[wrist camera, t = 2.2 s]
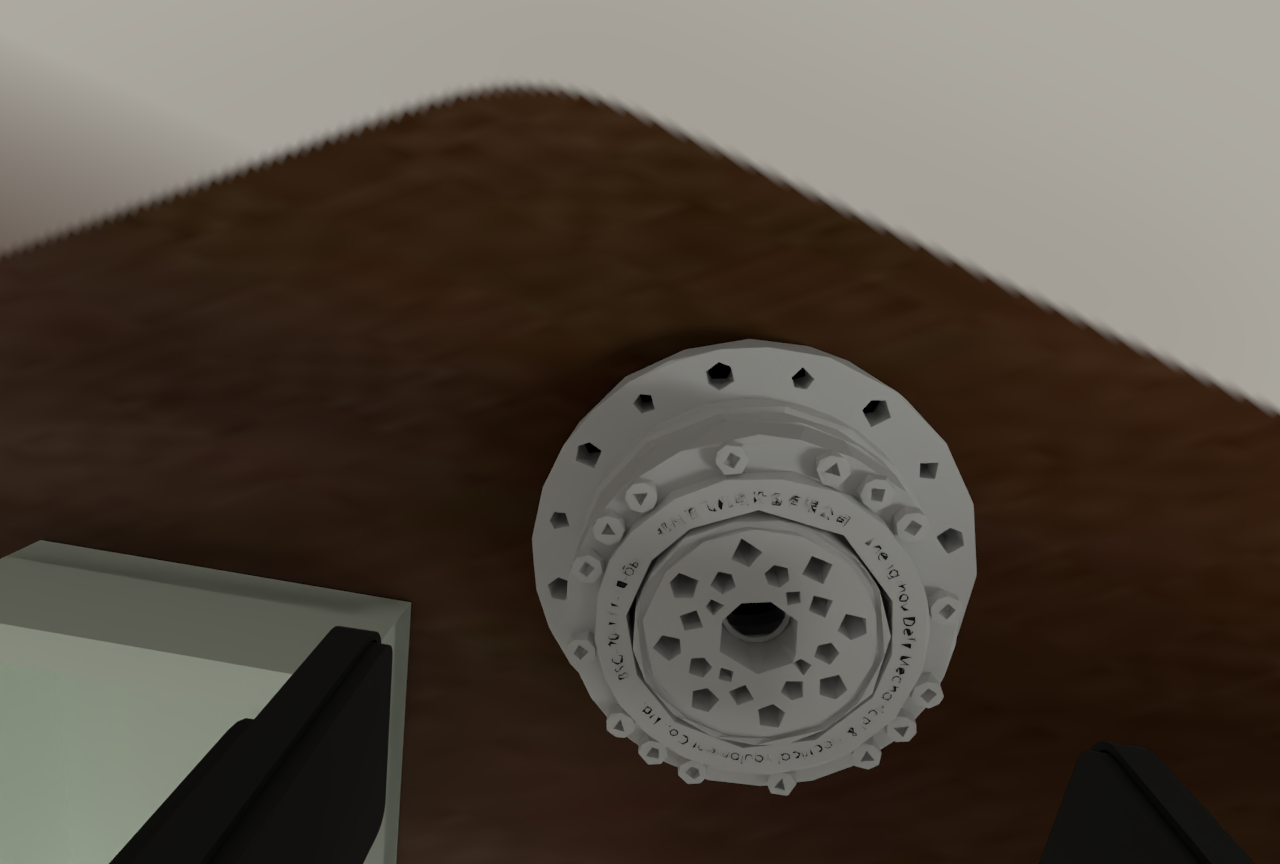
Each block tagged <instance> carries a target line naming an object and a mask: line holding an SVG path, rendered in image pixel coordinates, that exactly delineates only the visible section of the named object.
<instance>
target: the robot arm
mask: <svg viewBox="0 0 1280 864" xmlns="http://www.w3.org/2000/svg"><path fill="white" fill-rule="evenodd" d="M392 661H393V650H392V646H391V645H388V644H381V637H380V634H379V633H378V632H376V631H370V630H363V629H356V628H350V627H343V626H335V627H334V628H332V629H331V630H330V631H329V632H328V634H327V635H326V636H325V637H324V638H323V639H322V641H321V642H320V643H319V644H318V645H317V646H316V648H315V649H314V650H313V651H312V652H311V653H310V655H309V656H308V657H307V658H306V659H305V660H304V662H303V663H302V664H301V665H300V666H299V667H298V669H297V670H296V671H295V672H294V673H293V674H292V676H291V677H290V678H289V679H288V680H287V681H286V683H285V684H284V685H283V686H282V687H281V688H280V690H279V691H278V692H277V693H276V694H275V695H274V697H273V698H272V699H271V700H270V701H269V702H268V704H267V705H266V706H265V707H264V708H263V709H262V711H261V712H260V713H259V714H258V715H257V716H256V718H255V719H249V718H245V719H242V720H240V721H237V722H236V723H235V724H234V725H233V726H232V727H231V728H230V729H228V730H227V732H226V733H225V734H224V735H223V736H222V737H221V738H220V739H219V741H218V742H217V743H216V744H215V745H214V746H213V747H212V748H211V750H210V751H209V752H208V753H207V754H206V755H205V756H204V757H203V758H202V760H201V761H200V762H199V763H198V764H197V765H196V766H195V767H194V769H193V770H192V771H191V772H190V773H189V774H188V775H187V776H186V778H185V779H184V780H183V781H182V782H181V783H180V784H179V785H178V787H177V788H176V789H175V790H174V791H173V792H172V793H171V794H170V796H169V797H168V798H167V799H166V800H165V801H164V802H163V803H162V805H161V806H160V807H159V808H158V809H157V810H156V811H155V812H154V813H153V815H152V816H151V817H150V818H149V819H148V820H147V821H146V822H145V824H144V825H143V826H142V827H141V828H140V829H139V830H138V831H137V833H136V834H135V835H134V836H133V837H132V838H131V839H130V840H129V842H128V843H127V844H126V845H125V846H124V847H123V848H122V849H121V851H120V852H119V853H118V854H117V855H116V856H115V857H114V858H113V860H112V861H111V862H110V863H109V864H363V863H364V861H365V859H366V857H367V855H368V853H369V851H370V849H371V847H372V845H373V843H374V841H375V839H376V837H377V834H378V832H379V829H380V827H381V824H382V820H383V816H384V811H385V804H386V784H387V764H388V743H389V723H390V702H391V681H392ZM1039 864H1255V863H1254V862H1253V861H1252V860H1251V859H1250V858H1249V857H1248V856H1247V855H1246V853H1245V852H1244V851H1243V850H1242V849H1241V848H1240V847H1239V846H1238V845H1237V843H1236V842H1235V841H1234V840H1233V839H1232V838H1231V837H1230V836H1229V835H1228V834H1227V832H1226V831H1225V830H1224V829H1223V828H1222V827H1221V826H1220V825H1219V824H1218V822H1217V821H1216V820H1215V819H1214V818H1213V817H1212V816H1211V815H1210V814H1209V812H1208V811H1207V810H1206V809H1205V808H1204V807H1203V806H1202V805H1201V804H1200V802H1199V801H1198V800H1197V799H1196V798H1195V797H1194V796H1193V795H1192V794H1191V792H1190V791H1189V790H1188V789H1187V788H1186V787H1185V786H1184V785H1183V784H1182V783H1181V781H1180V780H1179V779H1178V778H1177V777H1176V776H1175V775H1174V774H1173V773H1172V771H1171V770H1170V769H1169V768H1168V767H1167V766H1166V765H1165V764H1164V763H1163V761H1162V760H1161V759H1160V758H1159V757H1158V756H1157V755H1156V754H1155V753H1154V752H1152V751H1151V750H1150V749H1147V748H1144V747H1138V746H1131V745H1125V744H1118V743H1111V742H1105V741H1103V742H1097V743H1096V744H1095V745H1094V746H1092V748H1091V750H1090V751H1084V752H1083V753H1082V754H1080V756H1079V758H1078V760H1077V763H1076V766H1075V768H1074V771H1073V774H1072V776H1071V779H1070V782H1069V784H1068V787H1067V790H1066V793H1065V795H1064V798H1063V801H1062V803H1061V806H1060V809H1059V811H1058V814H1057V817H1056V819H1055V822H1054V825H1053V828H1052V830H1051V833H1050V836H1049V838H1048V841H1047V844H1046V846H1045V849H1044V852H1043V854H1042V857H1041V860H1040V863H1039Z"/></svg>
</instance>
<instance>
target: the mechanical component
mask: <svg viewBox="0 0 1280 864" xmlns="http://www.w3.org/2000/svg"><path fill="white" fill-rule="evenodd" d="M718 362H720V363H722V364H725V365H728V366H730V367H731V372H730V373H729V375H728V377H727V379H712V378H711V376H710V374H709V372H708V370H709V369H710V368H712V367H713V366H714V365H715V364H717V363H718ZM801 368H804V369H805V376H803V377H800V378H797V379H794V380H792V377H793V376H794V375H795V374H796V373H797V372H798V371H799V370H800V369H801ZM640 394H644V395H651V397H652V401H642V399H641V397H640ZM871 400H880V402H879V404H878V405H877V407H876V408H875V410H874V412H870V413H865V414H864V413H863V411H862V410H863V409H864V408H865V407H866V406H867V404H868V403H869V402H870V401H871ZM589 442H590V443H591V444H593V445H594V446H596V447H597V448H598V449H600V450H601V452H594V453H589V452H588V450H587V449H586V447H585V445H584V444H586V443H589ZM532 547H533V560H534V570H535V580H536V590H537V593H538V596H539V599H540V602H541V605H542V608H543V611H544V614H545V617H546V620H547V623H548V626H549V628H550V630H551V632H552V634H553V635H554V637H555V639H556V640H557V642H558V644H559V645H560V647H561V649H562V651H563V652H564V654H565V656H566V657H567V659H568V661H569V662H570V664H571V665H572V666H573V667H574V668H575V669H576V670H577V672H578V673H579V674H580V676H581V678H582V680H583V682H584V684H585V686H586V688H587V691H588V693H589V695H590V697H591V698H592V699H593V701H594V702H595V703H596V704H597V705H598V707H599V708H600V709H601V710H602V712H603V713H604V714H605V715H606V716H607V721H606V722H607V731H608V732H610V733H611V734H612V735H614V736H615V737H621V738H625V737H628V738H629V739H630V740H632V741H633V742H634V743H636V744H637V745H639V748H638V753H639V755H640V756H641V757H642V758H643V759H644V760H645V762H646V763H647V764H648V765H650V764H661V763H662V762H663V761H664V762H666V763H668V764H671V765H673V766H676V767H678V775H679V776H680V777H681V778H682V779H683V780H684V781H685V782H686V783H687V784H697V783H701V782H702V781H703V780H704V779H707V780H712V781H721V782H730V783H739V784H747V785H756V786H766V785H768V788H769V790H770V792H771V793H772V794H779V795H785V796H788V795H789V793H790V792H791V791H792V789H793V788H794V787H795V785H796V784H797V783H796V782H804V781H812V780H815V779H818V778H821V777H824V776H826V775H829V774H832V773H835V772H837V771H840V770H843V769H846V768H848V767H851V766H854V765H855V766H856V767H860V768H864V769H868V770H869V769H871V768H873V767H875V766H877V765H879V762H880V758H881V754H882V753H881V749H882V748H884V747H885V746H887V745H889V744H890V743H892V742H893V741H895V742H909V741H910V740H911V739H912V737H913V736H914V735H915V734H916V722H915V719H916V718H917V717H918V715H919V714H920V713H921V712H922V711H923V710H924V709H925V708H931V707H934V706H936V705H938V704H940V702H941V701H942V699H943V697H944V695H943V692H942V689H941V686H940V683H941V681H942V680H943V678H944V676H945V673H946V670H947V667H948V664H949V662H950V659H951V656H952V653H953V651H954V648H955V645H956V638H957V635H958V633H959V629H960V626H961V623H962V620H963V617H964V614H965V611H966V607H967V604H968V601H969V598H970V595H971V592H972V588H973V585H974V582H975V579H976V576H977V568H976V547H975V526H974V504H973V502H972V500H971V497H970V495H969V493H968V491H967V488H966V486H965V484H964V482H963V479H962V477H961V475H960V473H959V470H958V468H957V466H956V464H955V462H954V459H953V457H952V455H951V453H950V450H949V448H948V446H947V444H946V443H945V441H944V440H943V439H942V438H941V437H940V436H939V435H938V434H937V433H936V432H935V430H934V429H933V428H932V427H931V426H930V425H929V424H928V423H927V422H926V421H925V419H924V418H923V417H922V416H921V415H920V414H919V413H918V412H917V411H916V410H915V408H914V407H913V406H912V405H911V404H910V403H909V402H908V401H907V400H906V399H905V398H904V397H903V396H901V395H900V394H899V393H898V392H896V391H895V390H893V389H892V388H890V387H889V386H887V385H886V384H884V383H882V382H881V381H879V380H878V379H876V378H875V377H873V376H871V375H870V374H868V373H867V372H865V371H864V370H862V369H860V368H859V367H857V366H856V365H854V364H853V363H851V362H849V361H847V360H845V359H842V358H839V357H837V356H834V355H831V354H828V353H826V352H823V351H820V350H818V349H815V348H812V347H809V346H804V345H795V344H787V343H779V342H771V341H763V340H755V339H745V340H739V341H733V342H727V343H721V344H715V345H709V346H703V347H697V348H691V349H685V350H683V351H681V352H678V353H676V354H674V355H672V356H670V357H667V358H665V359H663V360H661V361H659V362H656V363H654V364H652V365H650V366H648V367H645V368H643V369H641V370H639V371H637V372H634V373H632V374H630V375H628V376H626V377H625V378H624V379H623V380H622V381H621V382H620V383H619V384H618V385H616V386H615V387H614V388H613V389H612V390H611V391H610V392H609V393H608V394H607V395H606V396H605V397H604V398H603V399H602V400H601V401H600V402H599V403H598V404H597V405H596V406H595V407H594V408H593V409H592V410H591V411H590V412H589V413H588V414H587V415H586V416H585V417H584V418H583V419H582V420H581V421H580V422H579V423H578V425H577V426H576V428H575V429H574V431H573V432H572V434H571V435H570V437H569V438H568V440H567V441H566V443H565V444H564V445H563V447H562V449H561V451H560V453H559V455H558V458H557V460H556V462H555V464H554V466H553V468H552V470H551V472H550V474H549V476H548V478H547V480H546V482H545V484H544V486H543V488H542V493H541V498H540V503H539V507H538V512H537V517H536V522H535V526H534V531H533V536H532ZM760 602H771V603H773V604H774V605H776V606H777V608H775V609H772V610H770V611H767V612H764V613H760V614H754V615H734V614H730V613H731V612H732V611H733V610H734V609H736V608H737V607H738V606H739V605H740V604H741V603H760Z"/></svg>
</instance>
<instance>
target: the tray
mask: <svg viewBox="0 0 1280 864" xmlns="http://www.w3.org/2000/svg"><path fill="white" fill-rule="evenodd" d="M410 618H411V602H406V601H400V600H394V599H388V598H382V597H376V596H370V595H364V594H358V593H352V592H346V591H340V590H335V589H329V588H323V587H317V586H311V585H305V584H299V583H293V582H287V581H281V580H275V579H269V578H263V577H257V576H251V575H245V574H239V573H234V572H228V571H222V570H216V569H210V568H204V567H198V566H192V565H186V564H180V563H174V562H168V561H162V560H156V559H150V558H144V557H138V556H133V555H127V554H121V553H115V552H109V551H103V550H97V549H91V548H85V547H79V546H73V545H67V544H61V543H55V542H49V541H43V540H40V541H38V542H35V543H33V544H31V545H29V546H27V547H25V548H23V549H20V550H18V551H16V552H14V553H12V554H10V555H8V556H5V557H3V558H1V559H0V864H109V863H110V862H111V861H112V860H113V858H114V857H115V856H116V855H117V854H118V853H119V852H120V851H121V849H122V848H123V847H124V846H125V845H126V844H127V843H128V842H129V840H130V839H131V838H132V837H133V836H134V835H135V834H136V833H137V831H138V830H139V829H140V828H141V827H142V826H143V825H144V824H145V822H146V821H147V820H148V819H149V818H150V817H151V816H152V815H153V813H154V812H155V811H156V810H157V809H158V808H159V807H160V806H161V805H162V803H163V802H164V801H165V800H166V799H167V798H168V797H169V796H170V794H171V793H172V792H173V791H174V790H175V789H176V788H177V787H178V785H179V784H180V783H181V782H182V781H183V780H184V779H185V778H186V776H187V775H188V774H189V773H190V772H191V771H192V770H193V769H194V767H195V766H196V765H197V764H198V763H199V762H200V761H201V760H202V758H203V757H204V756H205V755H206V754H207V753H208V752H209V751H210V750H211V748H212V747H213V746H214V745H215V744H216V743H217V742H218V741H219V739H220V738H221V737H222V736H223V735H224V734H225V733H226V732H227V730H228V729H230V728H231V727H232V726H233V725H234V724H235V723H236V722H237V721H240V720H242V719H245V718H249V719H255V718H256V716H257V715H258V714H259V713H260V712H261V711H262V709H263V708H264V707H265V706H266V705H267V704H268V702H269V701H270V700H271V699H272V698H273V697H274V695H275V694H276V693H277V692H278V691H279V690H280V688H281V687H282V686H283V685H284V684H285V683H286V681H287V680H288V679H289V678H290V677H291V676H292V674H293V673H294V672H295V671H296V670H297V669H298V667H299V666H300V665H301V664H302V663H303V662H304V660H305V659H306V658H307V657H308V656H309V655H310V653H311V652H312V651H313V650H314V649H315V648H316V646H317V645H318V644H319V643H320V642H321V641H322V639H323V638H324V637H325V636H326V635H327V634H328V632H329V631H330V630H331V629H332V628H334V627H335V626H343V627H350V628H356V629H363V630H370V631H376V632H378V633H379V634H380V637H381V644H388V645H391V646H392V650H393V661H392V681H391V702H390V723H389V743H388V764H387V784H386V804H385V811H384V816H383V820H382V824H381V827H380V829H379V832H378V834H377V837H376V839H375V841H374V843H373V845H372V847H371V849H370V851H369V853H368V855H367V857H366V859H365V861H364V863H363V864H396V859H397V842H398V825H399V808H400V791H401V773H402V756H403V739H404V722H405V704H406V687H407V670H408V653H409V636H410Z"/></svg>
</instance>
